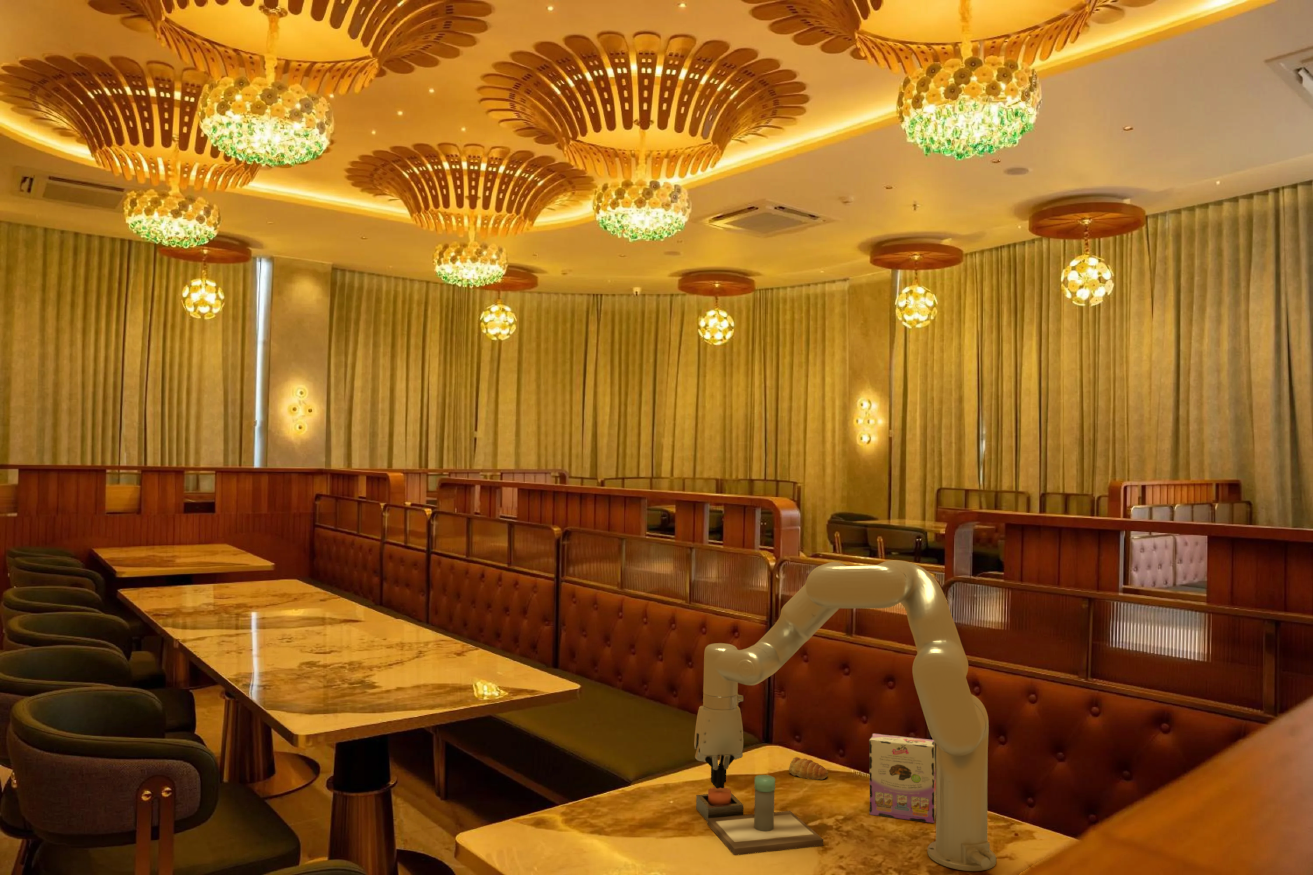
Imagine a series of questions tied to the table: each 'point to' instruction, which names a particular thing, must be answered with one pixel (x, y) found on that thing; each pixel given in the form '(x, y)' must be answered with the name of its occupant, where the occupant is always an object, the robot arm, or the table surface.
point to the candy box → (902, 777)
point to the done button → (719, 796)
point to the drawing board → (764, 833)
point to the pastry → (807, 769)
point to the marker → (764, 803)
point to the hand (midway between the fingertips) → (718, 785)
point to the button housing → (718, 807)
